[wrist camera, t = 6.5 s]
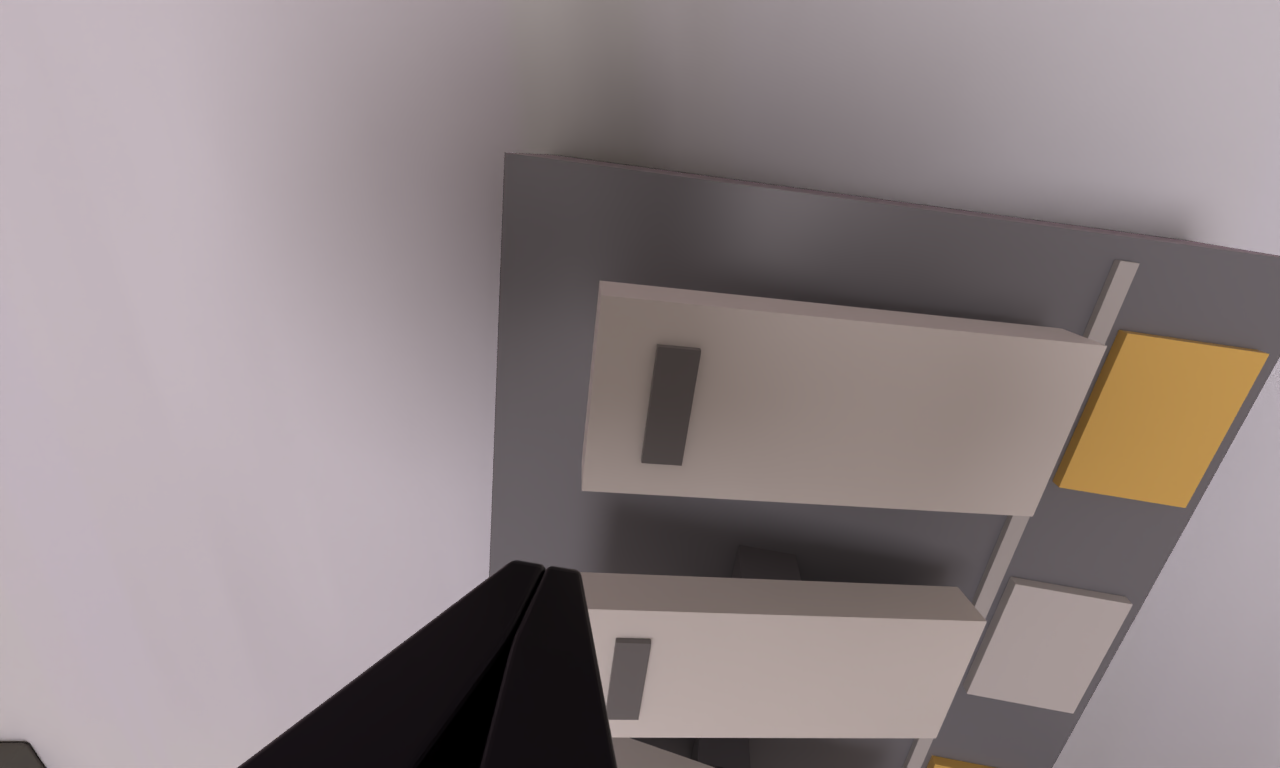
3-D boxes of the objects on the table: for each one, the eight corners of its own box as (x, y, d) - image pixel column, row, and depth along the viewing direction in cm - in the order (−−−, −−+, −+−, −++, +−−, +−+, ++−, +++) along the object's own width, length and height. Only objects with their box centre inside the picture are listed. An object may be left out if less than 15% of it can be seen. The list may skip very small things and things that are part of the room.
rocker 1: (1061, 328, 13) (1113, 348, 11) (997, 487, 14) (1037, 521, 13) (599, 280, 11) (601, 297, 10) (581, 461, 13) (581, 494, 12)
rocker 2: (957, 586, 15) (991, 626, 14) (912, 698, 17) (939, 743, 15) (570, 571, 14) (569, 613, 13) (558, 694, 15) (556, 743, 14)
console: (1188, 240, 16) (1403, 276, 11) (940, 781, 24) (999, 944, 19) (549, 154, 17) (482, 151, 12) (515, 697, 25) (466, 830, 20)
